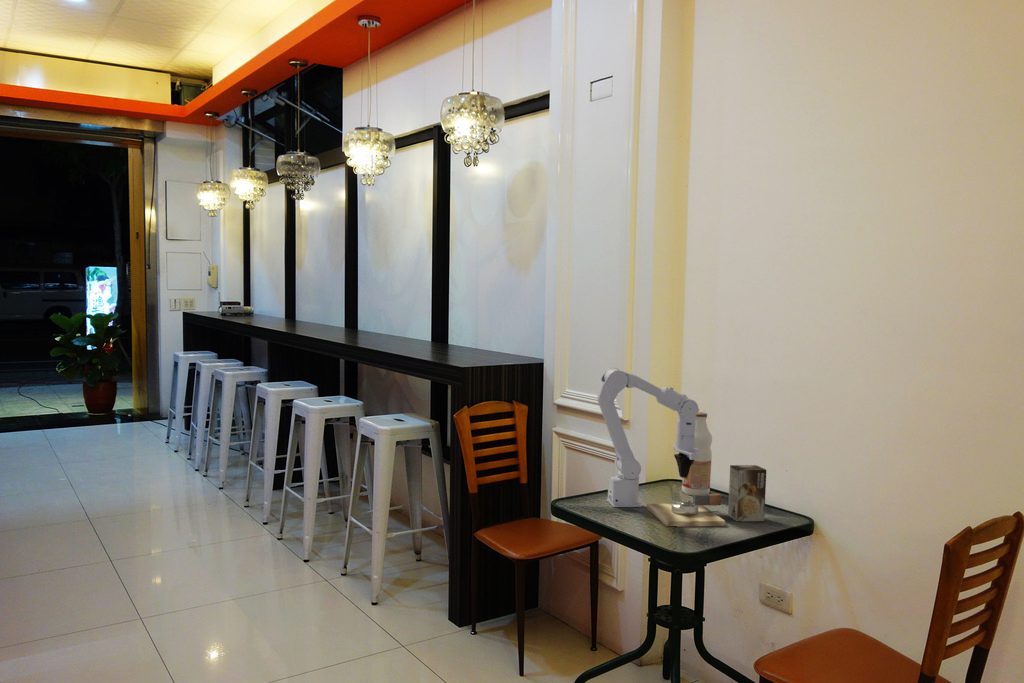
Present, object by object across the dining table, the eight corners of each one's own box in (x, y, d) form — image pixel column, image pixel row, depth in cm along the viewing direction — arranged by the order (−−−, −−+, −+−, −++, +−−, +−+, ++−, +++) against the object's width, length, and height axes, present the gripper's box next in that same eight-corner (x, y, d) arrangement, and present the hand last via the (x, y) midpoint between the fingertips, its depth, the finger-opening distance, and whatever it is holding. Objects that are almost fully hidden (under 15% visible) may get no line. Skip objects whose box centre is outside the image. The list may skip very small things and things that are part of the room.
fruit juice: (701, 498, 244) (706, 416, 242) (676, 492, 250) (680, 412, 248) (714, 493, 251) (718, 413, 249) (689, 487, 257) (694, 409, 255)
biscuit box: (754, 515, 226) (757, 464, 225) (764, 521, 220) (767, 469, 219) (726, 515, 225) (729, 464, 224) (736, 522, 219) (739, 469, 218)
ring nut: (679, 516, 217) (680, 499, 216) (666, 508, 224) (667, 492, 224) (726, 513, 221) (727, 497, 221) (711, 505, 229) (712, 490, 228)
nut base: (667, 526, 211) (667, 521, 211) (646, 508, 229) (646, 503, 229) (731, 525, 214) (731, 520, 214) (706, 508, 232) (706, 503, 232)
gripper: (706, 439, 226) (704, 482, 227) (688, 431, 240) (686, 471, 241) (685, 439, 225) (683, 482, 226) (668, 430, 239) (666, 471, 240)
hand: (683, 476), depth 233 cm, fingers closed
